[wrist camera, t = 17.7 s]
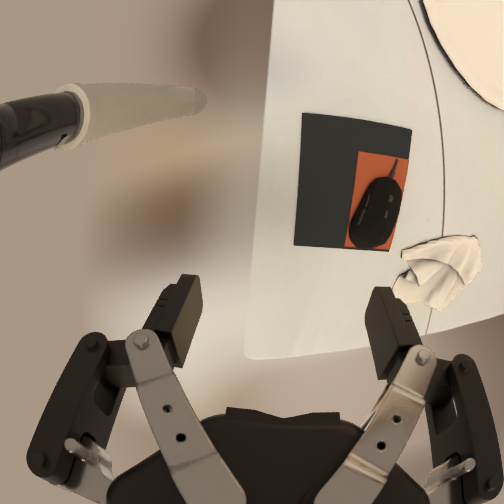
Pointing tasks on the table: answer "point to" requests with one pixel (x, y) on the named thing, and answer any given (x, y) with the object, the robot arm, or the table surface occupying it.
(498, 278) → the table surface
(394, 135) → the mat
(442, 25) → the plate
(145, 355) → the robot arm
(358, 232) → the gaming mouse
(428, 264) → the cloth
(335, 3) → the table surface
